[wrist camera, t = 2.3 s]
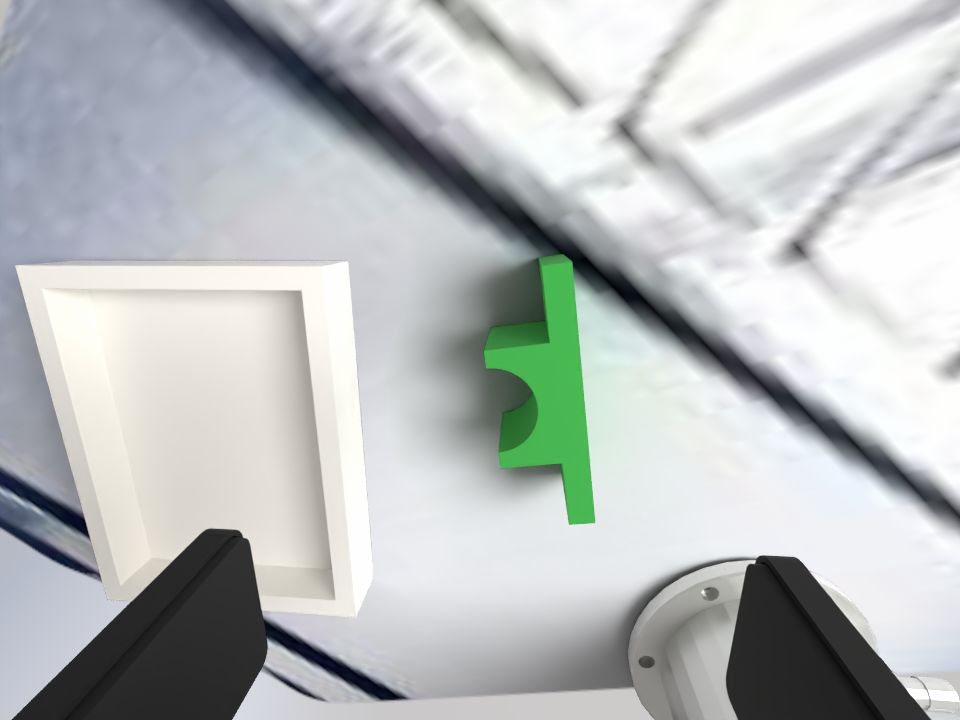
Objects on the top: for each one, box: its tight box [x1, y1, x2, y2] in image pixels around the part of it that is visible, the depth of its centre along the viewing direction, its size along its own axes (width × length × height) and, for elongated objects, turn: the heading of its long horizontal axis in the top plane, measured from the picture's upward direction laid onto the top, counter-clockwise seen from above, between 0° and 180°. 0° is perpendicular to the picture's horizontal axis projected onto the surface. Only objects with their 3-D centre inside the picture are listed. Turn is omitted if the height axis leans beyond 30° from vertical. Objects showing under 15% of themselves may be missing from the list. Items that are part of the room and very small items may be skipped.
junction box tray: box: [15, 260, 374, 617], centre depth 24 cm, size 14×18×3 cm
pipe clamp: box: [484, 254, 595, 525], centre depth 21 cm, size 11×4×5 cm, turn 8°
